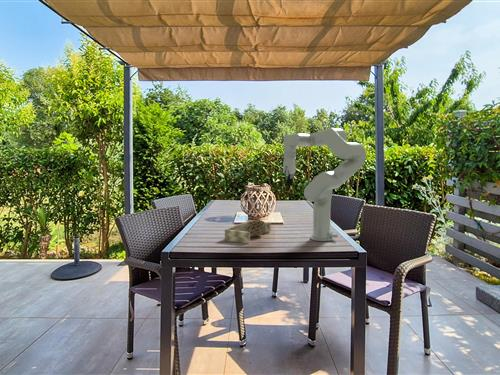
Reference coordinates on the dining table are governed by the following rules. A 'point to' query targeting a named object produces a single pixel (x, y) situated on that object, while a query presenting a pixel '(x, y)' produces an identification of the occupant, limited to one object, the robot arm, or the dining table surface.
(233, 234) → the box
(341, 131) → the robot arm
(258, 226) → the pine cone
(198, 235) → the dining table surface
